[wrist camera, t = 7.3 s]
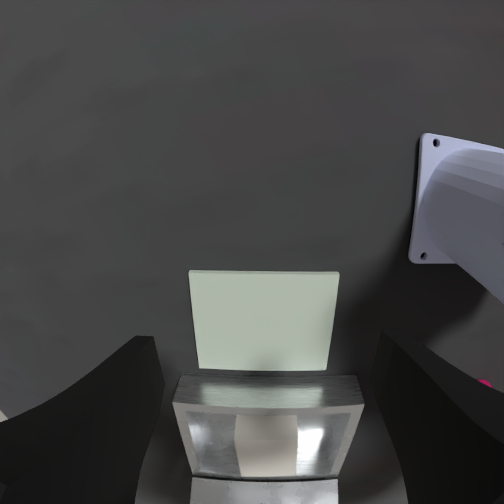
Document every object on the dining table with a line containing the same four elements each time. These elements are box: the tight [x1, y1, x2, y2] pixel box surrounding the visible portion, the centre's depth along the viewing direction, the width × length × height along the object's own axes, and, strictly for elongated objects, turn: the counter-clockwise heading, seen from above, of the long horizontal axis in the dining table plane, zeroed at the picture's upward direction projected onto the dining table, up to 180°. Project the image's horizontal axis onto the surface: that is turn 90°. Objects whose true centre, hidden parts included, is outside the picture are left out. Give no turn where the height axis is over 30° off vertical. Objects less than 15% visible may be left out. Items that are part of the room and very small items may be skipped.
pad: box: [189, 270, 339, 371], centre depth 20 cm, size 9×8×1 cm
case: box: [172, 372, 365, 482], centre depth 22 cm, size 13×14×5 cm
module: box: [234, 415, 298, 477], centre depth 21 cm, size 4×6×4 cm
